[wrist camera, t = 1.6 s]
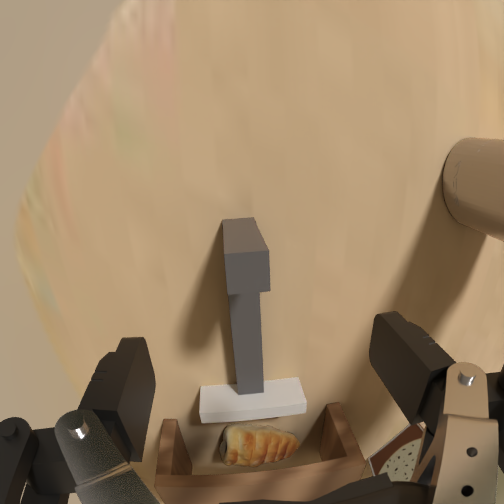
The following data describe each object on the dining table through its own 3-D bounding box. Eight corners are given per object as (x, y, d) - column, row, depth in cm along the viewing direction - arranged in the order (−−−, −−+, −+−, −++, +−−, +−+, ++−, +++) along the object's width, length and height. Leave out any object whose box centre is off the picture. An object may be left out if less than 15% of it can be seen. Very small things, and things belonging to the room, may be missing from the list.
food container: (381, 468, 40) (402, 513, 30) (360, 463, 38) (380, 513, 29) (438, 420, 37) (468, 463, 28) (421, 412, 36) (454, 459, 26)
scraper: (299, 214, 26) (336, 245, 17) (297, 387, 31) (317, 449, 23) (175, 223, 25) (154, 259, 17) (202, 396, 31) (200, 461, 22)
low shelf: (339, 402, 33) (366, 463, 24) (329, 450, 36) (349, 504, 27) (163, 419, 31) (154, 486, 22) (181, 465, 34) (177, 523, 25)
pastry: (303, 421, 34) (310, 444, 30) (289, 452, 36) (294, 474, 32) (223, 419, 32) (224, 444, 29) (217, 451, 34) (218, 474, 31)
